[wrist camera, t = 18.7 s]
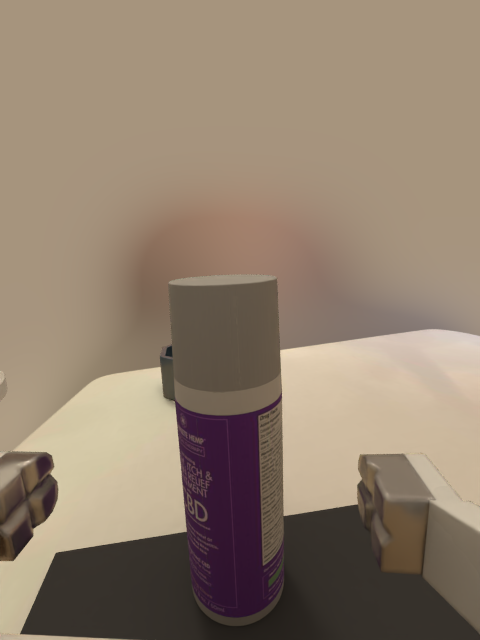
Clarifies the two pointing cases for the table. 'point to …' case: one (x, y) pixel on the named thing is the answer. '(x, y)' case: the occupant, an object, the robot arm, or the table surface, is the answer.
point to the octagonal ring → (167, 372)
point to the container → (230, 441)
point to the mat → (265, 634)
